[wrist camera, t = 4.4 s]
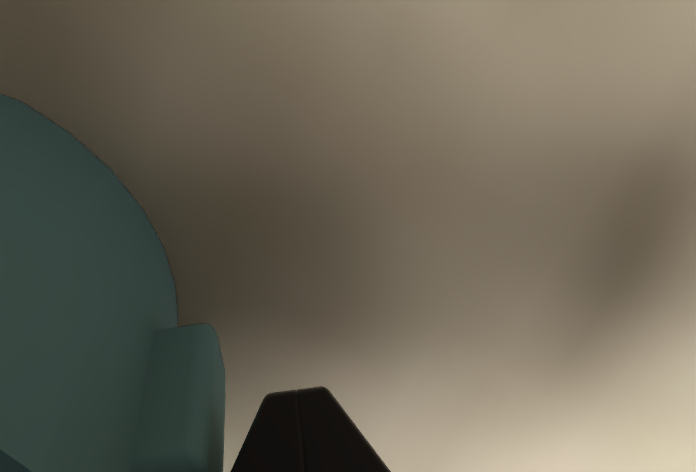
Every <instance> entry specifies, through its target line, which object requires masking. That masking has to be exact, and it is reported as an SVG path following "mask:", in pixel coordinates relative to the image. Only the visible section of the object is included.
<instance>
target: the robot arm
mask: <svg viewBox="0 0 696 472" xmlns="http://www.w3.org/2000/svg"><path fill="white" fill-rule="evenodd" d="M231 472H391V471H390V470H389V469H388V467H387V466H386V465H385V463H384V462H383V461H382V460H381V458H380V457H379V456H378V454H377V453H376V452H375V450H374V449H373V448H372V446H371V445H370V444H369V442H368V441H367V440H366V438H365V437H364V436H363V434H362V433H361V432H360V431H359V429H358V428H357V427H356V425H355V424H354V423H353V421H352V420H351V419H350V417H349V416H348V415H347V413H346V412H345V411H344V409H343V408H342V407H341V405H340V404H339V403H338V402H337V400H336V399H335V398H334V396H333V395H332V394H331V392H330V391H329V390H328V389H327V388H325V387H313V388H305V389H298V390H290V391H282V392H275V393H269V394H267V395H266V396H265V398H264V399H263V401H262V403H261V405H260V408H259V410H258V412H257V414H256V417H255V419H254V421H253V423H252V425H251V428H250V430H249V432H248V434H247V436H246V439H245V441H244V443H243V445H242V448H241V450H240V452H239V454H238V456H237V459H236V461H235V463H234V465H233V468H232V470H231Z"/></svg>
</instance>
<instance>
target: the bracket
mask: <svg viewBox="0 0 696 472" xmlns="http://www.w3.org/2000/svg"><path fill="white" fill-rule="evenodd" d="M177 324H178V313H177V301H176V290H175V282H174V279H173V276H172V273H171V270H170V266H169V263H168V260H167V257H166V254H165V250H164V247H163V245H162V243H161V241H160V240H159V238H158V236H157V234H156V232H155V231H154V229H153V227H152V225H151V223H150V221H149V220H148V218H147V216H146V214H145V212H144V210H143V209H142V207H141V206H140V205H139V204H138V202H137V201H136V200H135V199H134V197H133V196H132V195H131V194H130V192H129V191H128V190H127V189H126V187H125V186H124V185H123V184H122V183H121V181H120V180H119V179H118V178H117V176H116V175H115V174H114V173H113V171H112V170H111V169H110V168H109V167H107V166H106V165H105V164H104V163H103V162H102V161H101V160H100V159H98V158H97V157H96V156H95V155H94V154H93V153H92V152H91V151H89V150H88V149H87V148H86V147H85V146H84V145H83V144H82V143H80V142H79V141H78V140H77V139H76V138H75V137H74V136H73V135H72V134H70V133H69V132H67V131H66V130H64V129H63V128H61V127H60V126H58V125H57V124H55V123H54V122H52V121H50V120H49V119H47V118H46V117H44V116H43V115H41V114H40V113H38V112H37V111H35V110H34V109H32V108H31V107H29V106H28V105H26V104H24V103H23V102H21V101H19V100H16V99H13V98H10V97H7V96H4V95H1V94H0V472H223V454H224V419H225V370H224V365H223V360H222V355H221V350H220V345H219V341H218V336H217V333H216V330H215V329H214V327H213V326H211V325H210V324H207V323H201V324H194V325H188V326H181V327H177Z"/></svg>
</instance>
